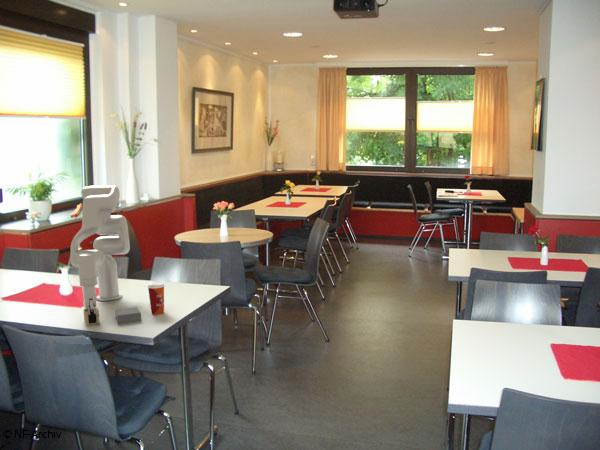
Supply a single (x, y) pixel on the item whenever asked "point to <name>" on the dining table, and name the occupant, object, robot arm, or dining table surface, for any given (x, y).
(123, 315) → the slate pedestal
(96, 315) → the oak cube
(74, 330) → the dining table surface
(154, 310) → the paper cup
